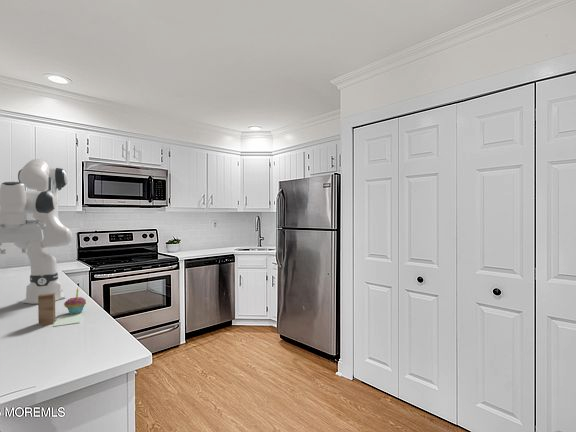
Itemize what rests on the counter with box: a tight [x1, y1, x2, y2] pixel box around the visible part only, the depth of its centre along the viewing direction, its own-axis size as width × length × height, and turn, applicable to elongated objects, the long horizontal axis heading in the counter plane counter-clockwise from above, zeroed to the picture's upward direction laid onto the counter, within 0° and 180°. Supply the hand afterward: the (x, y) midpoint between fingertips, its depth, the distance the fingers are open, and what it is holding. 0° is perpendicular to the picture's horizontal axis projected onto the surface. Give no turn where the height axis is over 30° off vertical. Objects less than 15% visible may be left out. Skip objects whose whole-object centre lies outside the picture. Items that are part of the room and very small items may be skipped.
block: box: [37, 292, 56, 327], centre depth 137 cm, size 5×5×12 cm
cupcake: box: [63, 287, 87, 315], centre depth 151 cm, size 9×8×12 cm
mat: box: [52, 313, 83, 327], centre depth 141 cm, size 14×9×1 cm, turn 28°
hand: (13, 253), depth 137 cm, fingers open, 6 cm apart
